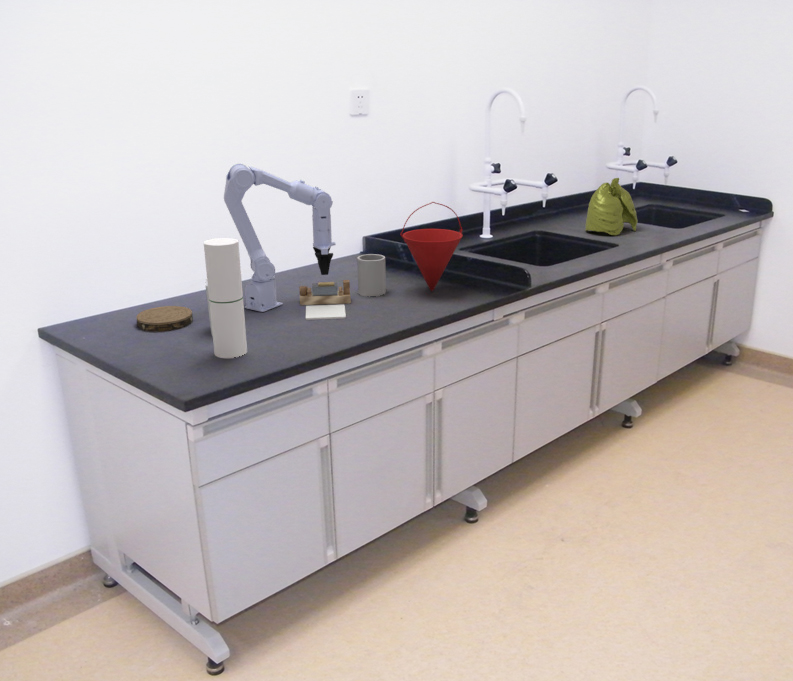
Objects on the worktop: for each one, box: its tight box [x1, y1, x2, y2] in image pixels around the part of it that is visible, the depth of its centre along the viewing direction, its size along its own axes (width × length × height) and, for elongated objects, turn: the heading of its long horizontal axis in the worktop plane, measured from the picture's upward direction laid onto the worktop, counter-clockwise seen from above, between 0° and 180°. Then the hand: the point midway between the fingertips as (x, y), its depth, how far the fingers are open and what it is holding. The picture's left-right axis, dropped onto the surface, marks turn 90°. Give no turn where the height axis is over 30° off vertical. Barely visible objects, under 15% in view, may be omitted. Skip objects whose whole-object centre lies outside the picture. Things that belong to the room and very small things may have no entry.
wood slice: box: [136, 305, 194, 333], centre depth 224 cm, size 16×16×3 cm
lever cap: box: [311, 281, 339, 296], centre depth 242 cm, size 8×4×4 cm, turn 95°
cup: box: [356, 253, 387, 297], centre depth 250 cm, size 9×9×12 cm
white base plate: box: [305, 304, 347, 321], centre depth 232 cm, size 12×12×1 cm
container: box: [203, 237, 248, 359], centre depth 196 cm, size 9×9×30 cm
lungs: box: [584, 177, 639, 236], centre depth 334 cm, size 25×16×24 cm, turn 128°
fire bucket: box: [399, 201, 464, 292], centre depth 248 cm, size 22×20×30 cm
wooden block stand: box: [298, 279, 352, 306], centre depth 242 cm, size 16×6×6 cm, turn 95°
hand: (323, 271), depth 242 cm, fingers open, 7 cm apart
